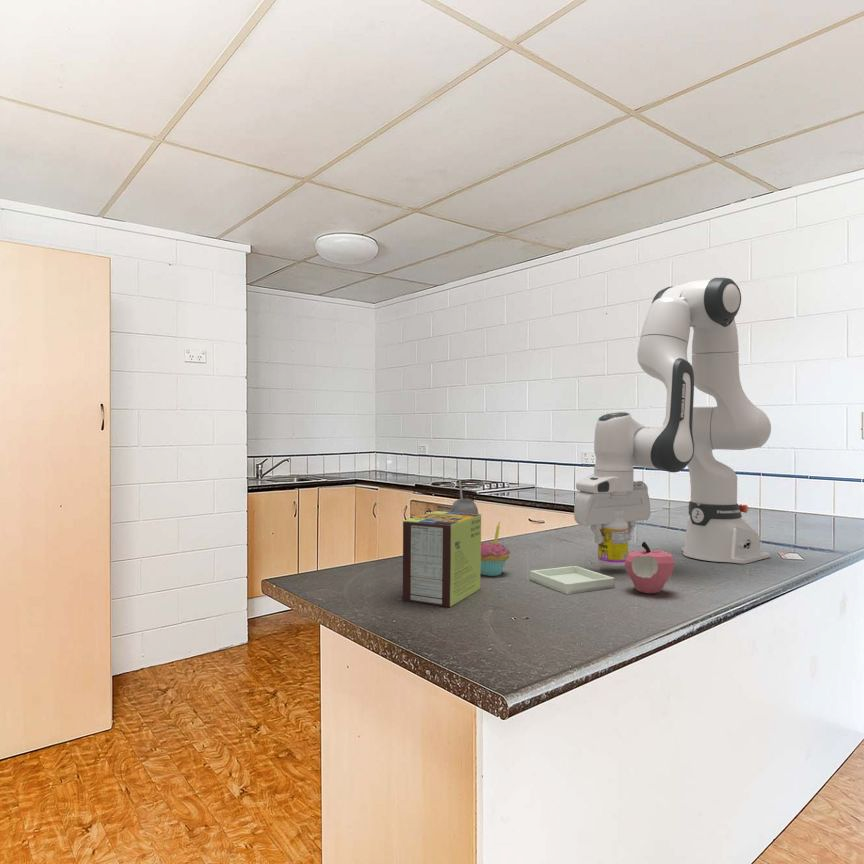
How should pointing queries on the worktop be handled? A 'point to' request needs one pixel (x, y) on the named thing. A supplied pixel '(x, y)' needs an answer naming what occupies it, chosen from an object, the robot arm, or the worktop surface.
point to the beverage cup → (464, 504)
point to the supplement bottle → (614, 541)
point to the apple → (649, 569)
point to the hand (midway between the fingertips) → (613, 541)
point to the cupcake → (493, 556)
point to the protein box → (441, 557)
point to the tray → (572, 579)
